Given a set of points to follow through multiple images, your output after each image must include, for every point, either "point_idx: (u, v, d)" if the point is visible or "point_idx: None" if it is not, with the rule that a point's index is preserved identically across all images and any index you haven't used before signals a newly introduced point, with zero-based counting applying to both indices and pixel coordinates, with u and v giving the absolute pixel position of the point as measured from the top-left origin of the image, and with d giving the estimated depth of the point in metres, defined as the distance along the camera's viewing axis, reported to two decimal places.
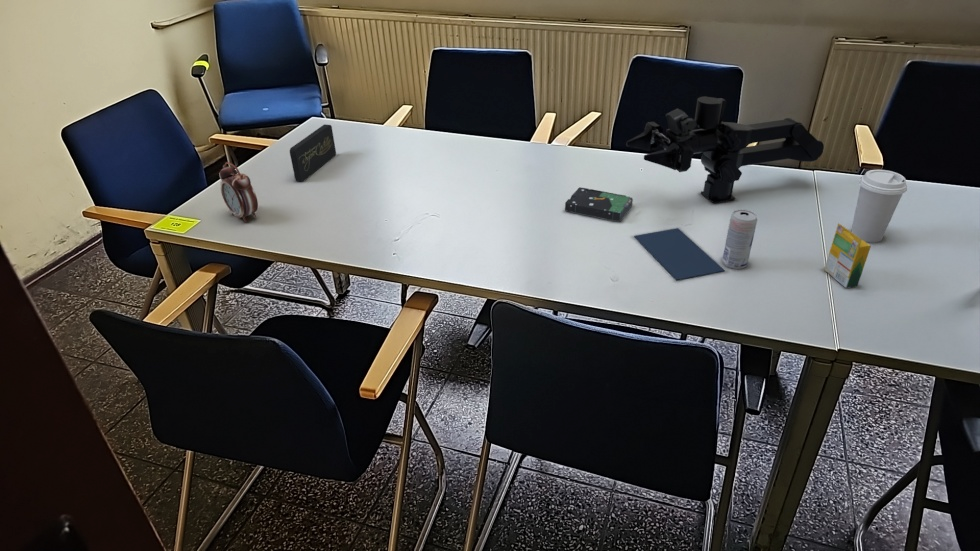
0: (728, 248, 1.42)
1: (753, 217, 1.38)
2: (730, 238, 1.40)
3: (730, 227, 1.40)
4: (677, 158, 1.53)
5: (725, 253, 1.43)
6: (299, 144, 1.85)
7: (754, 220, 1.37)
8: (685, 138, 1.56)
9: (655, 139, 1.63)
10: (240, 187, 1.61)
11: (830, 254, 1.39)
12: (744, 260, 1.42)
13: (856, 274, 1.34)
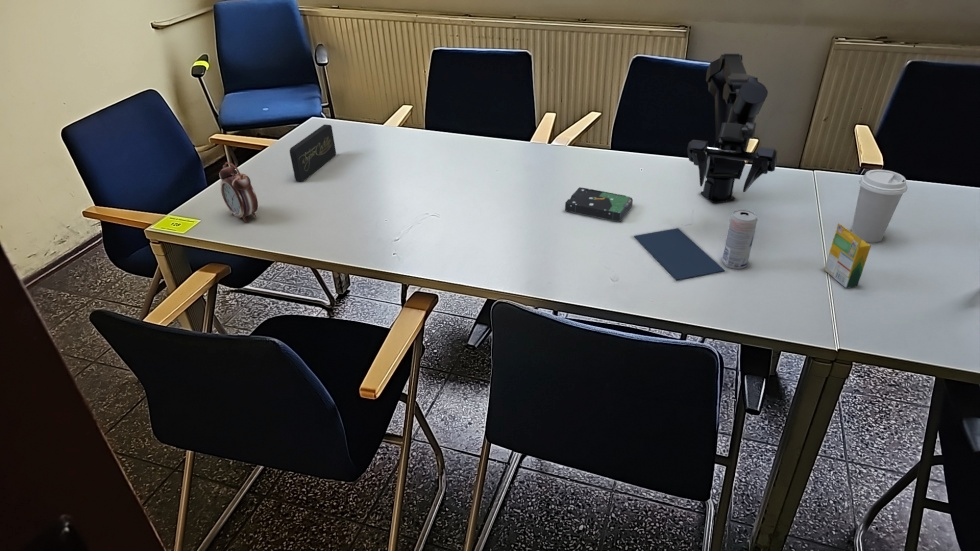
0: (728, 248, 1.42)
1: (753, 217, 1.38)
2: (730, 238, 1.40)
3: (730, 227, 1.40)
4: (767, 165, 1.43)
5: (725, 253, 1.43)
6: (299, 144, 1.85)
7: (754, 220, 1.37)
8: (747, 138, 1.44)
9: (709, 155, 1.49)
10: (240, 187, 1.61)
11: (830, 254, 1.39)
12: (744, 260, 1.42)
13: (856, 274, 1.34)
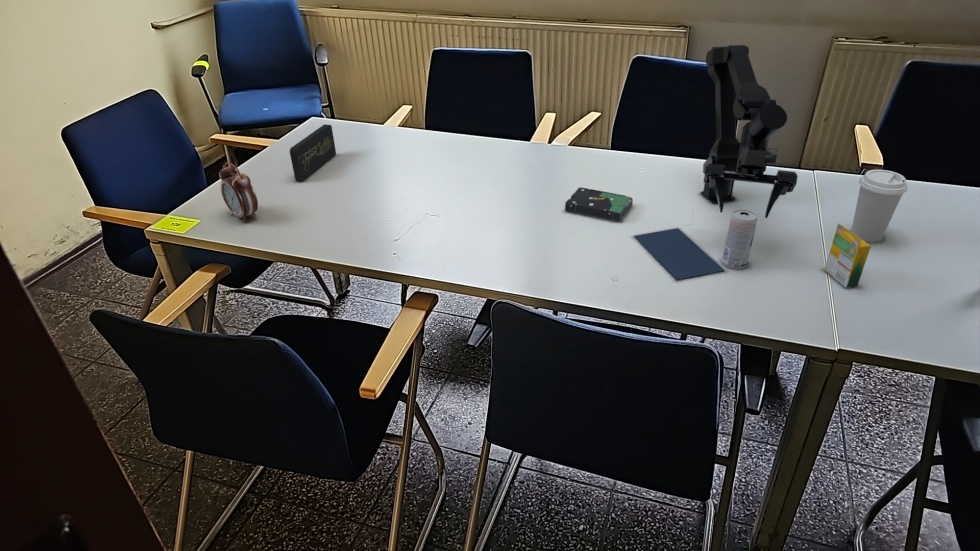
0: (728, 248, 1.42)
1: (753, 217, 1.38)
2: (730, 238, 1.40)
3: (730, 227, 1.40)
4: (787, 188, 1.41)
5: (725, 253, 1.43)
6: (299, 144, 1.85)
7: (754, 220, 1.37)
8: None
9: (726, 178, 1.45)
10: (240, 187, 1.61)
11: (830, 254, 1.39)
12: (744, 260, 1.42)
13: (856, 274, 1.34)
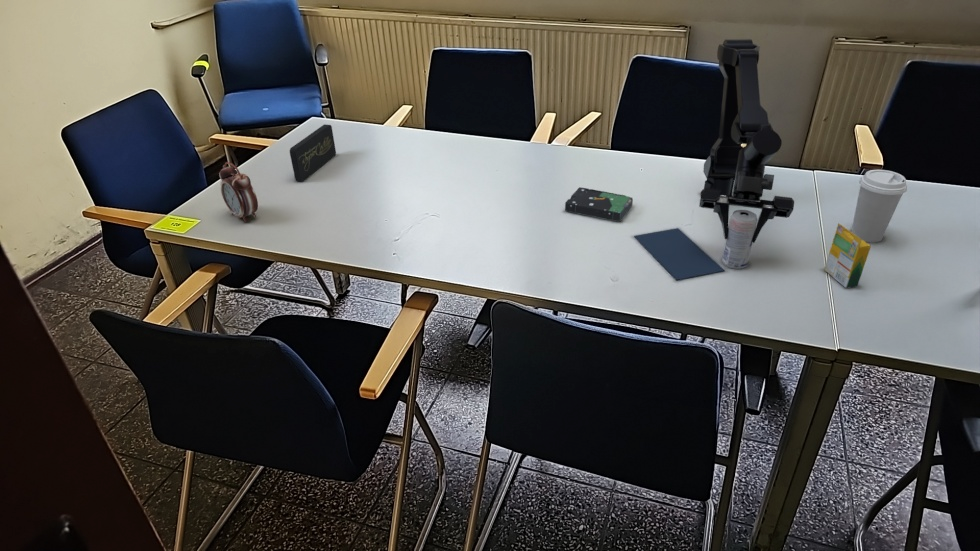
0: (728, 248, 1.42)
1: (753, 217, 1.38)
2: (730, 238, 1.40)
3: (730, 227, 1.40)
4: (775, 213, 1.40)
5: (725, 253, 1.43)
6: (299, 144, 1.85)
7: (754, 220, 1.37)
8: None
9: None
10: (240, 187, 1.61)
11: (830, 254, 1.39)
12: (744, 260, 1.42)
13: (856, 274, 1.34)
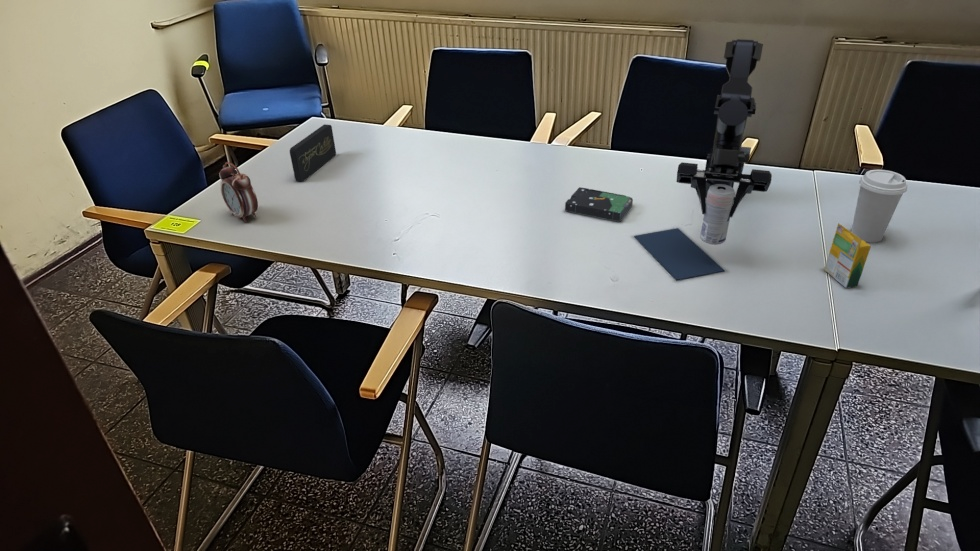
0: (706, 223, 1.39)
1: (730, 191, 1.36)
2: (708, 213, 1.38)
3: (707, 202, 1.37)
4: None
5: (703, 229, 1.41)
6: (299, 144, 1.85)
7: (731, 194, 1.35)
8: None
9: None
10: (240, 187, 1.61)
11: (830, 254, 1.39)
12: (722, 236, 1.40)
13: (856, 274, 1.34)
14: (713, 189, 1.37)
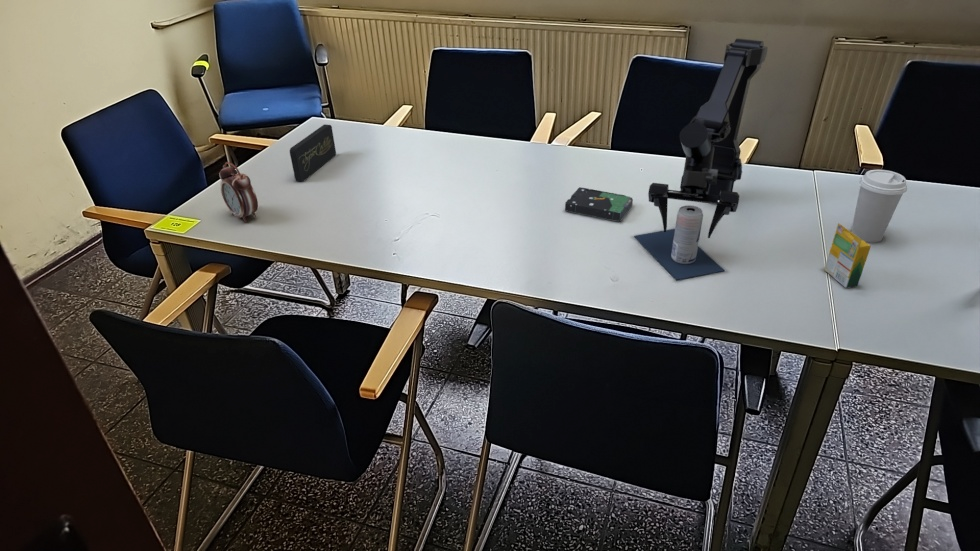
0: (676, 243, 1.43)
1: (699, 213, 1.40)
2: (678, 234, 1.42)
3: (677, 223, 1.41)
4: (730, 208, 1.40)
5: (673, 248, 1.45)
6: (299, 144, 1.85)
7: (700, 216, 1.39)
8: None
9: (670, 198, 1.44)
10: (240, 187, 1.61)
11: (830, 254, 1.39)
12: (692, 255, 1.43)
13: (856, 274, 1.34)
14: (682, 210, 1.41)
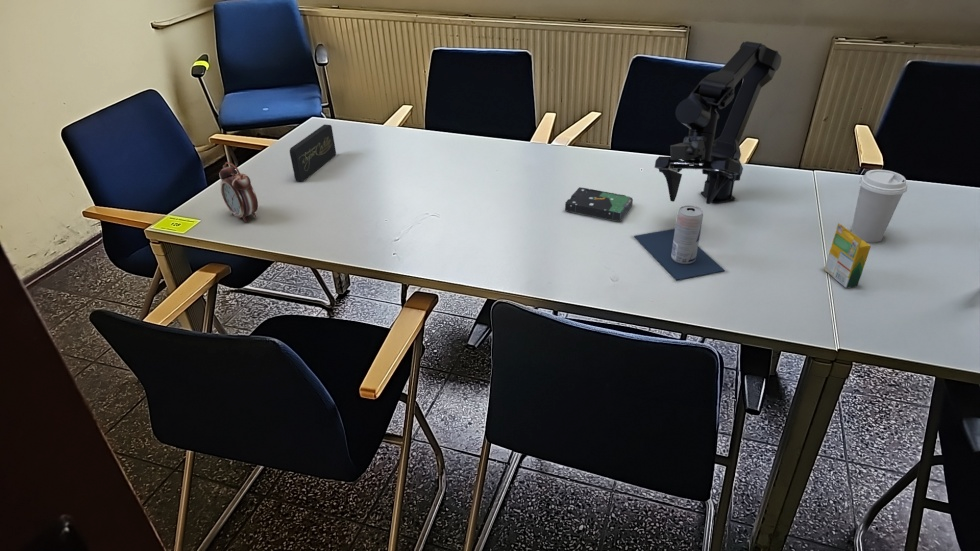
0: (676, 243, 1.43)
1: (699, 213, 1.40)
2: (678, 234, 1.42)
3: (677, 223, 1.41)
4: (727, 173, 1.44)
5: (673, 248, 1.45)
6: (299, 144, 1.85)
7: (700, 216, 1.39)
8: None
9: (678, 168, 1.53)
10: (240, 187, 1.61)
11: (830, 254, 1.39)
12: (692, 255, 1.43)
13: (856, 274, 1.34)
14: (682, 210, 1.41)
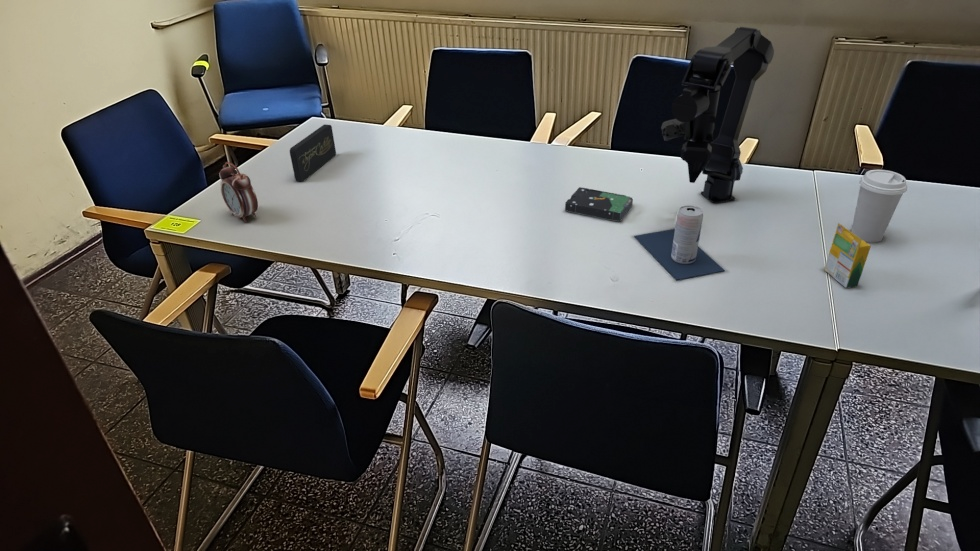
0: (676, 243, 1.43)
1: (699, 213, 1.40)
2: (678, 234, 1.42)
3: (677, 223, 1.41)
4: (693, 160, 1.44)
5: (673, 248, 1.45)
6: (299, 144, 1.85)
7: (700, 216, 1.39)
8: (687, 130, 1.46)
9: None
10: (240, 187, 1.61)
11: (830, 254, 1.39)
12: (692, 255, 1.43)
13: (856, 274, 1.34)
14: (682, 210, 1.41)
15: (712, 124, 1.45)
